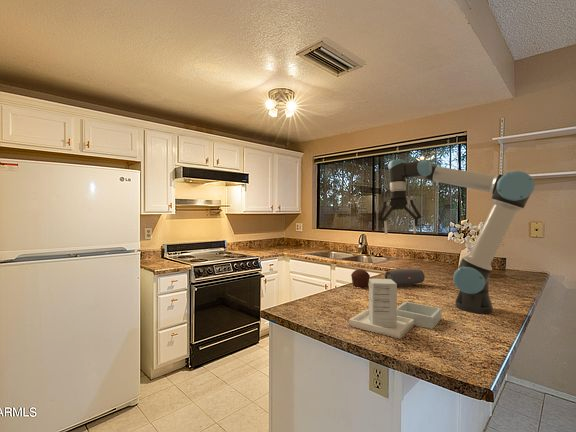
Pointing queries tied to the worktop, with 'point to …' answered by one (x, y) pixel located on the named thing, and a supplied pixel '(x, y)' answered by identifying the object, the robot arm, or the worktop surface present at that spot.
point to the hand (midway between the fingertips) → (400, 233)
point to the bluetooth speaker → (405, 276)
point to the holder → (420, 314)
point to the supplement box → (383, 302)
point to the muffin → (360, 278)
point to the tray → (364, 323)
